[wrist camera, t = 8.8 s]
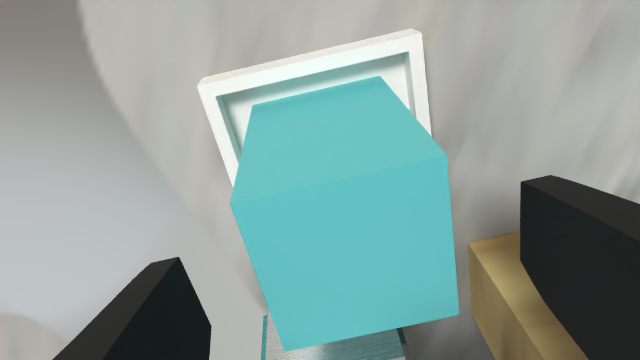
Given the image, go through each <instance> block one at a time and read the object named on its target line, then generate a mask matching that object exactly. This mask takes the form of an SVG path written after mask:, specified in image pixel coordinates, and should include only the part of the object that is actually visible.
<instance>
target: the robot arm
mask: <svg viewBox="0 0 640 360" xmlns="http://www.w3.org/2000/svg"><path fill="white" fill-rule="evenodd" d="M520 261H521V263H522V265H523V267H524V269H525V270H526V272H527V274H528V276H529V277H530V279H531V281H532V283H533V284H534V286H535V288H536V289H537V291H538V292H539V294H540V296H541V297H542V299H543V301H544V302H545V304H546V305H547V306H548V308H549V309H550V310H551V312H552V313H553V314H554V316H555V317H556V318H557V319H558V321H559V322H560V323H561V325H562V326H563V327H564V328H565V330H566V331H567V332H568V334H569V335H570V336H571V338H572V339H573V340H574V341H575V343H576V344H577V345H578V346H579V348H580V349H581V350H582V352H583V353H584V354H585V355H586V357H587V358H588V359H589V360H640V204H638V203H635V202H632V201H629V200H626V199H623V198H620V197H618V196H615V195H612V194H609V193H606V192H603V191H600V190H597V189H594V188H591V187H589V186H586V185H583V184H580V183H576V182H573V181H570V180H567V179H563V178H560V177H556V176H552V175H549V176H545V177H540V178H535V179H531V180H526V181H522V182H521V201H520ZM210 339H211V324H210V322H209V320H208V318H207V316H206V314H205V311H204V309H203V308H202V305H201V303H200V301H199V299H198V296H197V294H196V292H195V290H194V288H193V286H192V284H191V281H190V279H189V277H188V275H187V273H186V271H185V269H184V266H183V264H182V262H181V260H180V258H179V257H176V258H171V259H167V260H162V261H158V262H153V263H151V264H150V265H148V266H147V267H146V268H145V269H144V270H142V271H141V272H140V273H139V274H138V275H137V276H136V277H135V278H134V279H133V280H132V281H131V282H130V283H129V284H128V285H127V286H126V287H125V288H124V289H123V290H122V291H121V292H120V293H119V294H118V295H117V296H116V297H115V298H114V299H113V300H112V301H111V302H110V303H109V304H108V305H107V306H106V307H105V308H104V309H103V310H102V311H101V312H100V313H99V314H98V315H97V316H96V317H95V318H94V319H93V320H92V321H91V323H89V324H88V325H87V326H86V327H85V328H84V329H83V330H82V331H81V333H80V334H79V335H77V336H76V338H75V339H74V340H72V341H71V342H70V343H69V344H68V345H67V346H66V347H65V348H64V349H63V350H62V351H61V352H60V353H59V354H58V355H57V356H56V357H55V358H54V359H53V360H209V354H210Z"/></svg>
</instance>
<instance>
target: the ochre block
mask: <svg viewBox="0 0 640 360" xmlns="http://www.w3.org/2000/svg"><path fill="white" fill-rule="evenodd" d="M468 252H469V268H470V285H471V301H472V317H473V318H474V320H475V322H476V324H477V326H478V328H479V330H480V332H481V334H482V335H483V337H484V339H485V341H486V343H487V345H488V347H489V349H490V350H491V352H492V354H493V356H494V358H495V360H589V359H588V358H587V357H586V355H585V354H584V353H583V352H582V350H581V349H580V348H579V346H578V345H577V344H576V343H575V341H574V340H573V339H572V338H571V336H570V335H569V334H568V332H567V331H566V330H565V328H564V327H563V326H562V325H561V323H560V322H559V321H558V319H557V318H556V317H555V316H554V314H553V313H552V312H551V310H550V309H549V308H548V306H547V305H546V304H545V302H544V301H543V299H542V297H541V296H540V294H539V292H538V291H537V289H536V288H535V286H534V284H533V283H532V281H531V279H530V277H529V276H528V274H527V272H526V270H525V269H524V267H523V265H522V263H521V261H520V232H516V233H511V234H507V235H502V236H497V237H493V238H488V239H484V240H479V241H474V242H470V243H468Z"/></svg>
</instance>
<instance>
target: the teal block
mask: <svg viewBox="0 0 640 360" xmlns="http://www.w3.org/2000/svg"><path fill="white" fill-rule="evenodd" d="M230 206H231V208H232V211H233V214H234V216H235V219H236V222H237V225H238V227H239V230H240V233H241V235H242V238H243V241H244V244H245V246H246V249H247V252H248V254H249V257H250V260H251V263H252V265H253V268H254V271H255V273H256V276H257V279H258V282H259V284H260V287H261V290H262V293H263V295H264V298H265V301H266V303H267V306H268V309H269V312H270V314H271V317H272V320H273V322H274V325H275V328H276V331H277V333H278V336H279V339H280V341H281V344H282V347H283V350H284V352H287V351H292V350H296V349H301V348H306V347H311V346H315V345H320V344H325V343H329V342H334V341H339V340H344V339H348V338H353V337H358V336H363V335H367V334H372V333H377V332H381V331H386V330H391V329H396V328H400V327H405V326H410V325H415V324H419V323H424V322H429V321H433V320H438V319H443V318H448V317H452V316H457V315H459V303H458V290H457V278H456V265H455V252H454V239H453V226H452V214H451V201H450V188H449V175H448V163H447V154H446V153H445V152H444V151H443V150H442V148H441V147H440V146H439V145H438V144H437V143H436V141H435V140H434V139H433V138H432V137H431V135H430V134H429V133H428V132H427V131H426V130H425V128H424V127H423V126H422V125H421V124H420V122H419V121H418V120H417V119H416V118H415V117H414V115H413V114H412V113H411V112H410V111H409V109H408V108H407V107H406V106H405V105H404V103H403V102H402V101H401V100H400V99H399V98H398V96H397V95H396V94H395V93H394V92H393V90H392V89H391V88H390V87H389V86H388V85H387V83H386V82H385V81H384V80H383V79H382V77H381V76H375V77H371V78H367V79H362V80H358V81H354V82H349V83H345V84H341V85H337V86H332V87H328V88H324V89H319V90H315V91H311V92H306V93H302V94H298V95H293V96H289V97H285V98H280V99H276V100H272V101H267V102H263V103H259V104H255V105H252V110H251V114H250V118H249V123H248V127H247V131H246V135H245V140H244V144H243V148H242V153H241V157H240V161H239V166H238V170H237V174H236V179H235V183H234V187H233V192H232V196H231V200H230Z"/></svg>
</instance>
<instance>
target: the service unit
mask: <svg viewBox="0 0 640 360" xmlns="http://www.w3.org/2000/svg"><path fill="white" fill-rule="evenodd" d="M261 360H409V355H408V349H407V344H406V341H405V337H404V334H403V331H402V328H401V327H400V328H396V329H391V330H386V331H381V332H377V333H372V334H367V335H363V336H358V337H353V338H348V339H344V340H339V341H334V342H329V343H325V344H320V345H315V346H311V347H306V348H301V349H296V350H292V351H287V352H284V350H283V347H282V344H281V341H280V339H279V336H278V333H277V331H276V328H275V325H274V322H273V320H272V317H271V314H270V312H269V309H268V315H266V316H264V321H263V336H262V353H261Z"/></svg>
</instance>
